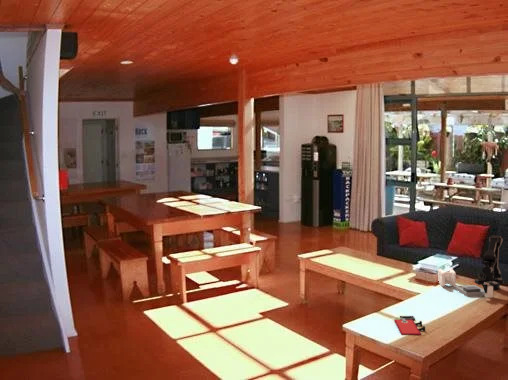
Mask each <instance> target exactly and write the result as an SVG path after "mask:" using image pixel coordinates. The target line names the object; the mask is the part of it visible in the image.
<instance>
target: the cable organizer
mask: <svg viewBox="0 0 508 380" xmlns="http://www.w3.org/2000/svg"><path fill="white" fill-rule="evenodd" d="M437 270H438V272H437V273H438V275H437V277H438V278H437V281H439V282H438V284H439V285H440V287H443V288H444V287H445V286H446V285H450V286H452V287H453V288H454V286H457V284H456V282H457V280H456V278H457V273H456V271H455V270H454V269H453V268H449V271H444V270H443V269H442V268H438V269H437Z"/></svg>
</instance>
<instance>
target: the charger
mask: <svg viewBox="0 0 508 380" xmlns="http://www.w3.org/2000/svg"><path fill="white" fill-rule="evenodd" d="M487 285H488V286H487V293H485V291H484V295H483V296H484V297H485V298H489V299H490V298H494V291H493V286H492V285H489V284H487Z"/></svg>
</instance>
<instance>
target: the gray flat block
mask: <svg viewBox="0 0 508 380" xmlns="http://www.w3.org/2000/svg"><path fill="white" fill-rule="evenodd" d="M478 287H479V286H478ZM478 287H463V290H464V291H465V292H480V290H481V289H482V288H481V289H479V288H478Z"/></svg>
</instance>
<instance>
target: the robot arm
mask: <svg viewBox="0 0 508 380" xmlns="http://www.w3.org/2000/svg"><path fill="white" fill-rule="evenodd" d="M488 237H489V238H488V242H489V244H488V250H487V251H486V252H485V253H484V255H483V259H482V265H484V266H483V267H482V269H481V272H478V273H477V278H475V279H474V283H475V285H476V284H477V286H479V285H480V286H481V287H482V289H483V290H484V291H485V293H487V286H488V285H492V286H493V292H494V291H495V290H501V287H500V286H501V285H503V284H504V279H503V275H502V273H501V270H500V268H499V255H500V254H499V252H500V247H501V246H502V243H503V241H504V239H503V237H502V236H499V235H491V236H488ZM500 284H501V285H500Z"/></svg>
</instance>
